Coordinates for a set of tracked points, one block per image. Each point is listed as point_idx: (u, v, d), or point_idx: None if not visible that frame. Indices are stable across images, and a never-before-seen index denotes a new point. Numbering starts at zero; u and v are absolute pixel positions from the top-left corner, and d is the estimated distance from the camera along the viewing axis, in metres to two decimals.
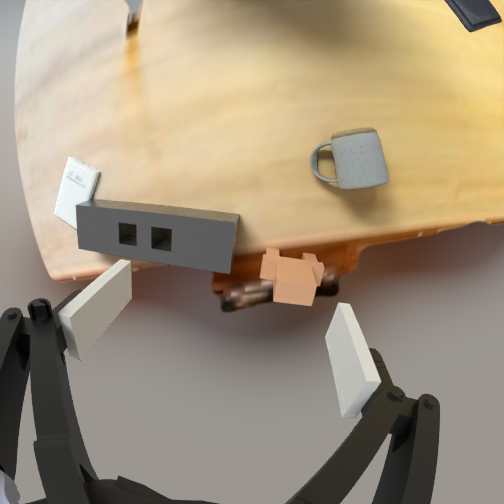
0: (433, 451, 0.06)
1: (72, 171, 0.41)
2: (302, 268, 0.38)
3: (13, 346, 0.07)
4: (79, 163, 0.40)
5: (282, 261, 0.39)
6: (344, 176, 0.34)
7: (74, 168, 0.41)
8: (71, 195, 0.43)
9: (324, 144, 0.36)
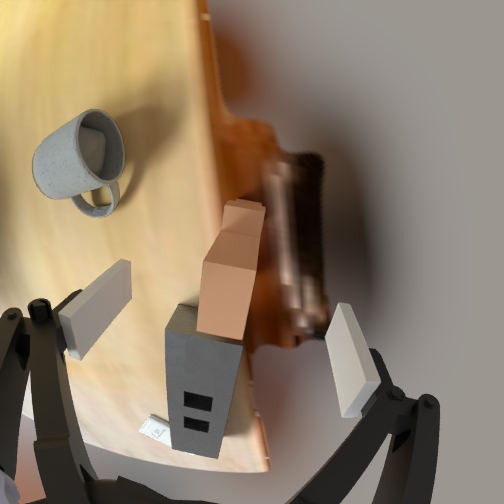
0: (433, 451, 0.06)
1: (151, 433, 0.41)
2: None
3: (13, 346, 0.07)
4: (143, 426, 0.40)
5: None
6: (83, 186, 0.20)
7: (148, 431, 0.41)
8: None
9: (74, 203, 0.24)
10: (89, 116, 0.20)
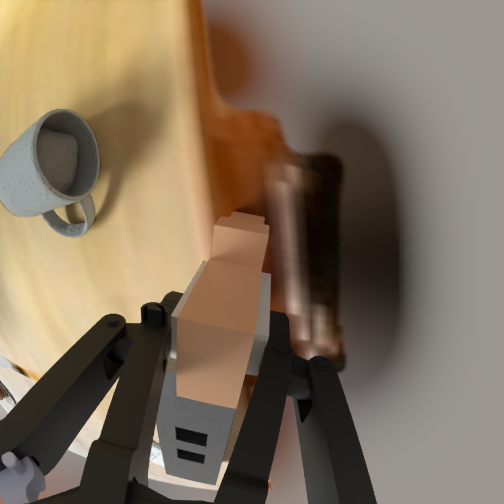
0: (345, 414, 0.08)
1: None
2: None
3: (103, 356, 0.09)
4: None
5: None
6: (47, 204, 0.15)
7: None
8: None
9: (46, 220, 0.20)
10: (56, 118, 0.15)
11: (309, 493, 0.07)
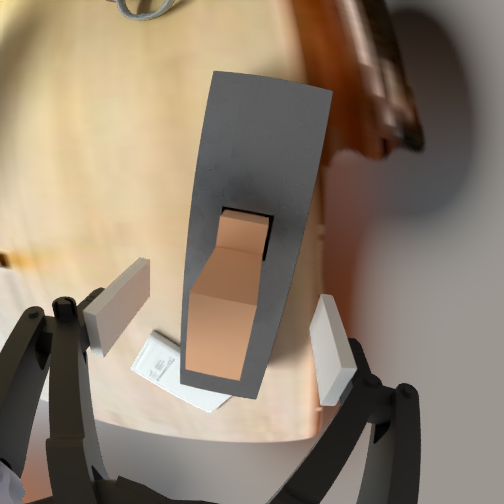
0: (415, 440, 0.07)
1: (149, 370, 0.30)
2: None
3: (32, 345, 0.08)
4: (138, 357, 0.30)
5: None
6: None
7: (144, 366, 0.30)
8: None
9: (119, 6, 0.15)
10: None
11: None
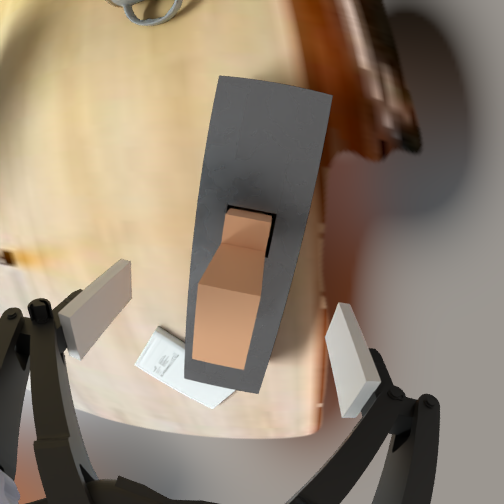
0: (433, 451, 0.06)
1: (153, 366, 0.31)
2: None
3: (13, 346, 0.07)
4: (143, 353, 0.31)
5: None
6: None
7: (149, 362, 0.31)
8: (187, 379, 0.32)
9: (126, 11, 0.16)
10: None
11: None
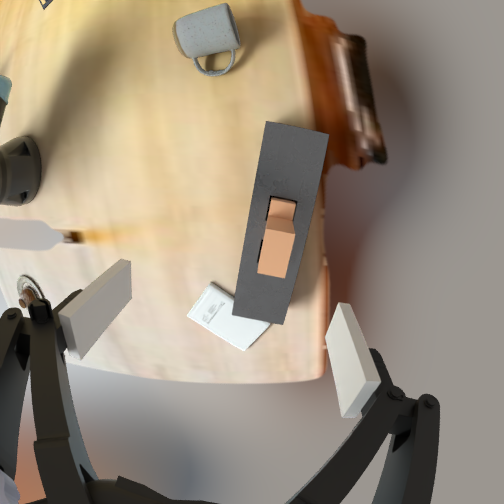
0: (433, 451, 0.06)
1: (203, 315, 0.46)
2: None
3: (13, 346, 0.07)
4: (196, 304, 0.46)
5: None
6: (221, 40, 0.27)
7: (200, 311, 0.46)
8: (228, 323, 0.46)
9: (195, 63, 0.31)
10: None
11: None
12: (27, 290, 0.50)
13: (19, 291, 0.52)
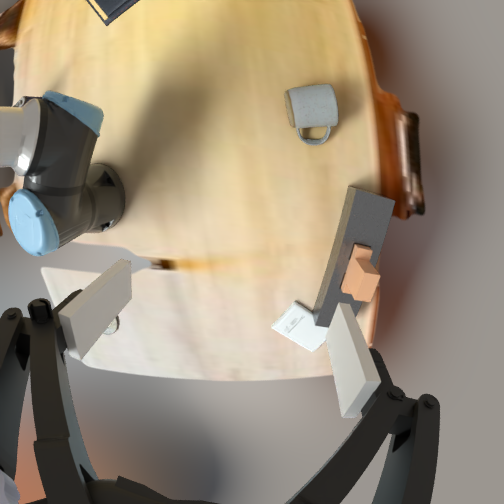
0: (433, 451, 0.06)
1: (285, 326, 0.59)
2: (354, 268, 0.45)
3: (13, 346, 0.07)
4: (281, 318, 0.58)
5: (347, 278, 0.48)
6: (327, 121, 0.39)
7: (283, 324, 0.59)
8: (305, 331, 0.59)
9: (298, 132, 0.44)
10: None
11: None
12: None
13: None
